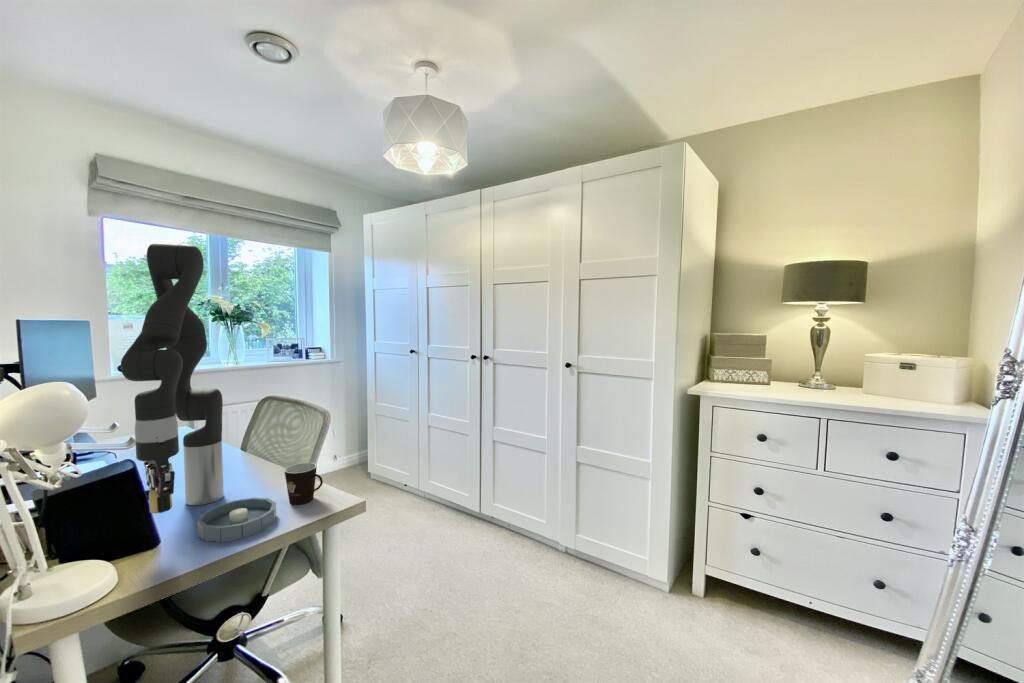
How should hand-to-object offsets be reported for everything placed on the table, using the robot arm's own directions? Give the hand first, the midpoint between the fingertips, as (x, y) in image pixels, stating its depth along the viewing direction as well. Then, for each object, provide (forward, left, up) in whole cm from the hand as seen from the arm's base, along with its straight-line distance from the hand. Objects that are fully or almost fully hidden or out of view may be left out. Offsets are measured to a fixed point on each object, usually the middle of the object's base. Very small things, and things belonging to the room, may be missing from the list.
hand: (161, 507), depth 97 cm
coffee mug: (0, +33, -11) cm, 34 cm away
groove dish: (0, +16, -10) cm, 19 cm away
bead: (0, 0, 0) cm, 0 cm away
